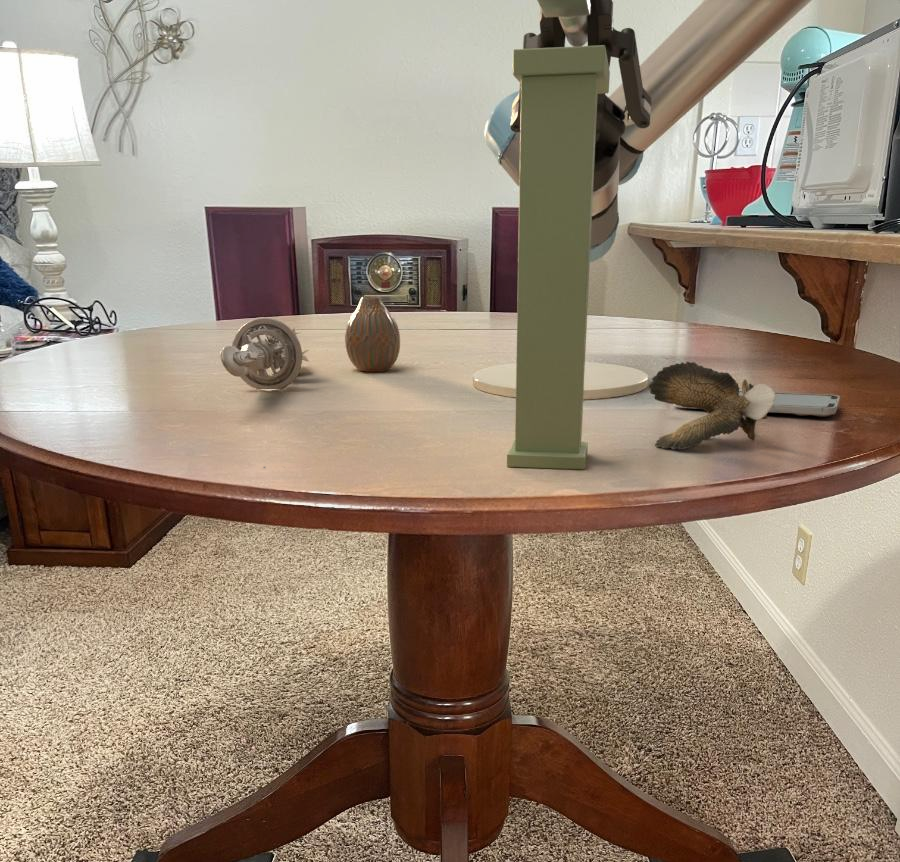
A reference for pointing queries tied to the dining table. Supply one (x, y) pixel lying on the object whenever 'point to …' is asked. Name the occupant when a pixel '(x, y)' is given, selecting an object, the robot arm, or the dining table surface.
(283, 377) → the spaceship
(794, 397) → the smartphone
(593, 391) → the plate
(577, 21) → the red rounded bar
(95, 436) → the dining table surface
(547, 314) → the stand
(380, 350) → the vase
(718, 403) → the eagle figurine
